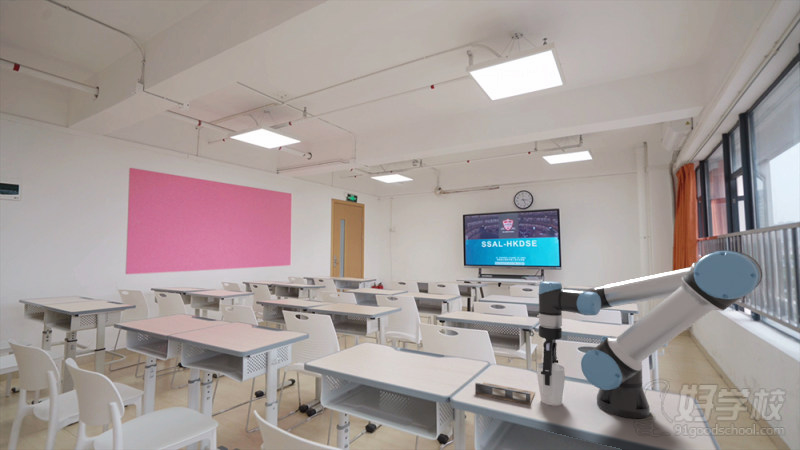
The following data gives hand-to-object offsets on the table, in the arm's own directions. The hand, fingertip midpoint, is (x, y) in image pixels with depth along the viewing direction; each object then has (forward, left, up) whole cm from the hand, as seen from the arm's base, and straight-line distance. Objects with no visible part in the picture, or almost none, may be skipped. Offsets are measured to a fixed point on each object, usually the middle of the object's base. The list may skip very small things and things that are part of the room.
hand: (549, 387), depth 127 cm
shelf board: (+15, +1, -5) cm, 16 cm away
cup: (0, 0, -5) cm, 5 cm away
